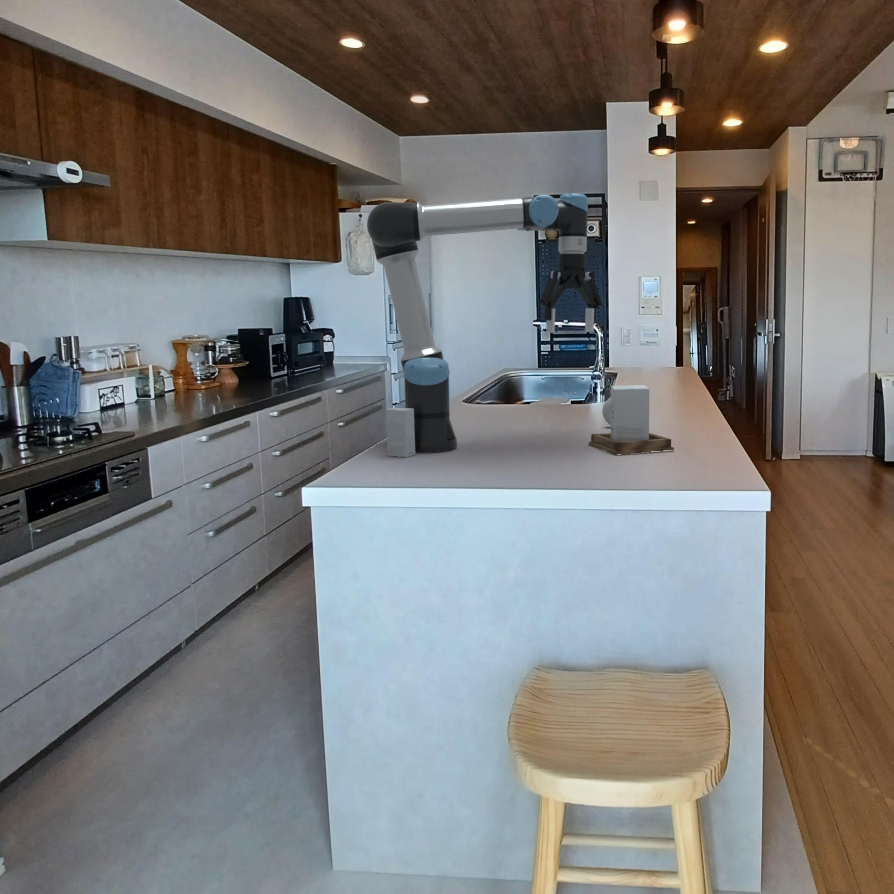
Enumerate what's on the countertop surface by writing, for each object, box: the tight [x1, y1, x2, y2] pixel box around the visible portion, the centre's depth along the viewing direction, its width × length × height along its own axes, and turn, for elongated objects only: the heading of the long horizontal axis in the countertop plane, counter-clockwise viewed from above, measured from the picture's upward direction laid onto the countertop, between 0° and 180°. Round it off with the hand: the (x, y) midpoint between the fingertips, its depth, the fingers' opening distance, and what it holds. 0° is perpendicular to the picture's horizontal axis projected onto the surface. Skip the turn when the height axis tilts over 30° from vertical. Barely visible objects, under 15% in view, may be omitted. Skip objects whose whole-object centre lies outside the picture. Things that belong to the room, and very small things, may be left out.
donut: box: [602, 396, 611, 426], centre depth 256 cm, size 10×3×10 cm, turn 79°
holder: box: [588, 432, 675, 456], centre depth 222 cm, size 16×16×3 cm
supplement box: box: [610, 384, 650, 442], centre depth 221 cm, size 9×9×15 cm
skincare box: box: [385, 407, 416, 458], centre depth 217 cm, size 6×4×12 cm
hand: (570, 332), depth 237 cm, fingers open, 13 cm apart
